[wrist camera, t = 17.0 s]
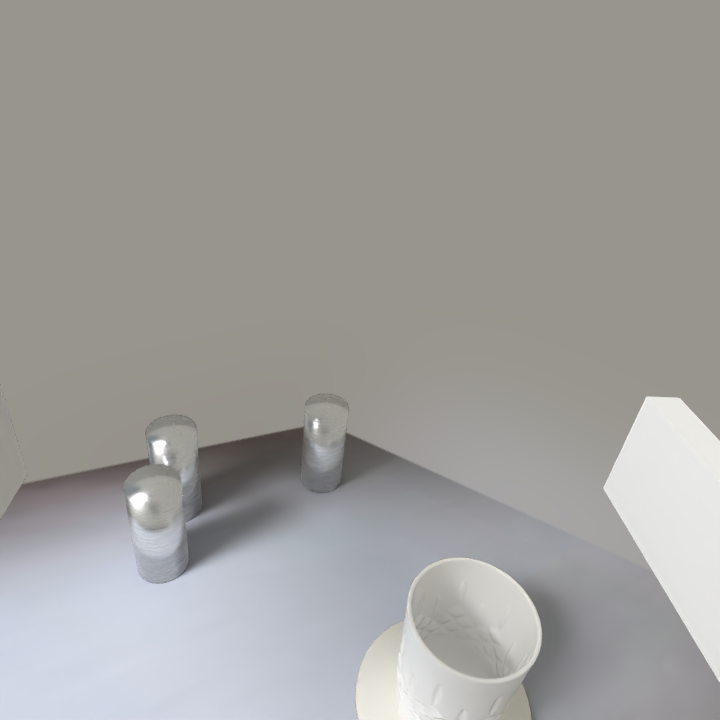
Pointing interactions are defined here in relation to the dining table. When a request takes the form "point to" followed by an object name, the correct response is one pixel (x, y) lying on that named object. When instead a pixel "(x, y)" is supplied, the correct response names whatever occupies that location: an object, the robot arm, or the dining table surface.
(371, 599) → the dining table surface
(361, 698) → the coaster
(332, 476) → the cylinder
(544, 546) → the dining table surface
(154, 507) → the cylinder
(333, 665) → the dining table surface
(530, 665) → the white cup
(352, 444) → the dining table surface
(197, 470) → the cylinder
